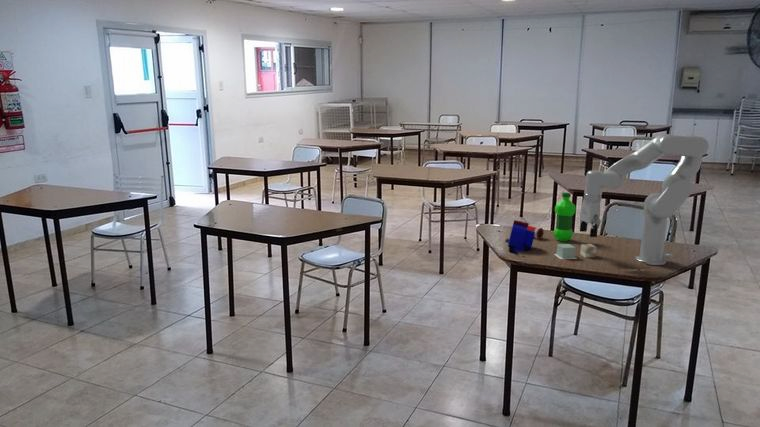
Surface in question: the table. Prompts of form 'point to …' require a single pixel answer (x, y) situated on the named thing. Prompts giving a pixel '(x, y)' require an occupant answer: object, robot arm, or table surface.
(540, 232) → the toy hammer
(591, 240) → the table surface
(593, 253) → the maple cube
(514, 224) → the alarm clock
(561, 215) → the plastic bottle
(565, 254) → the sage block
